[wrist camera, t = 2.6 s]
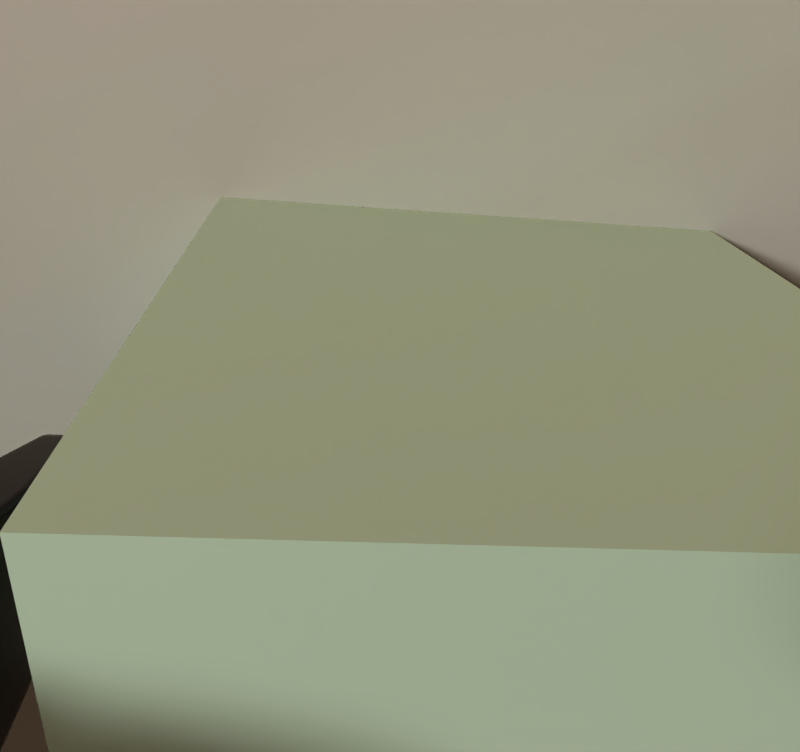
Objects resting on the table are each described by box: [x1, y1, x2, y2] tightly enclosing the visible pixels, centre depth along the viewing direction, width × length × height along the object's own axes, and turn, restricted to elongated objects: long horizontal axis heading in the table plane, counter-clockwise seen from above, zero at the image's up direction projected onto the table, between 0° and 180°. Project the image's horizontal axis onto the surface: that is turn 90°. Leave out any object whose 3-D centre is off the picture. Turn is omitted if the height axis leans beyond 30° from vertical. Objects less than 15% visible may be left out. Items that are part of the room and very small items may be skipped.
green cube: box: [0, 197, 800, 752], centre depth 7 cm, size 6×6×6 cm
